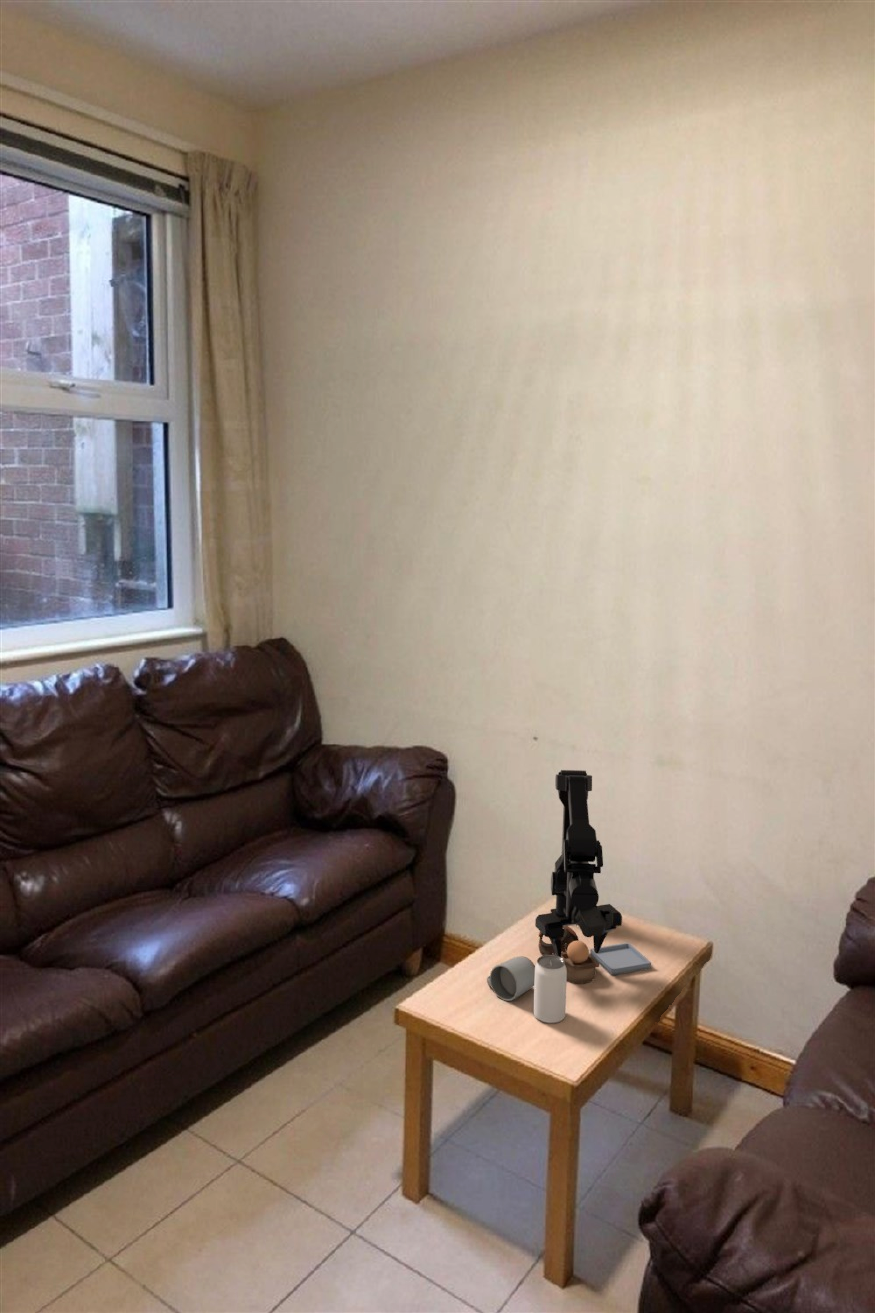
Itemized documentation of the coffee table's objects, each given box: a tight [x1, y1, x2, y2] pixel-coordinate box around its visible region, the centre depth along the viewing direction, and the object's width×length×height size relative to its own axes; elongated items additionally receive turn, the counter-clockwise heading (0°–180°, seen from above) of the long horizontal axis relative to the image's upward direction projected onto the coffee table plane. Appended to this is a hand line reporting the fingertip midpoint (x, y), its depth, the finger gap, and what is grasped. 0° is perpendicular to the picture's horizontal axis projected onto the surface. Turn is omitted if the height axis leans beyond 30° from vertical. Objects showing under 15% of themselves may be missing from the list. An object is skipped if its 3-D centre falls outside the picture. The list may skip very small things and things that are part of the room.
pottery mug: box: [538, 926, 580, 955], centre depth 218 cm, size 12×10×8 cm
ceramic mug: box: [486, 955, 536, 1002], centre depth 200 cm, size 11×8×8 cm
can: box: [533, 954, 567, 1025], centre depth 190 cm, size 6×6×12 cm
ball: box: [566, 940, 590, 963], centre depth 207 cm, size 5×5×5 cm
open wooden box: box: [561, 951, 600, 985], centre depth 207 cm, size 8×8×4 cm
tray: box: [589, 941, 652, 977], centre depth 213 cm, size 10×10×2 cm
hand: (577, 956), depth 207 cm, fingers open, 9 cm apart
